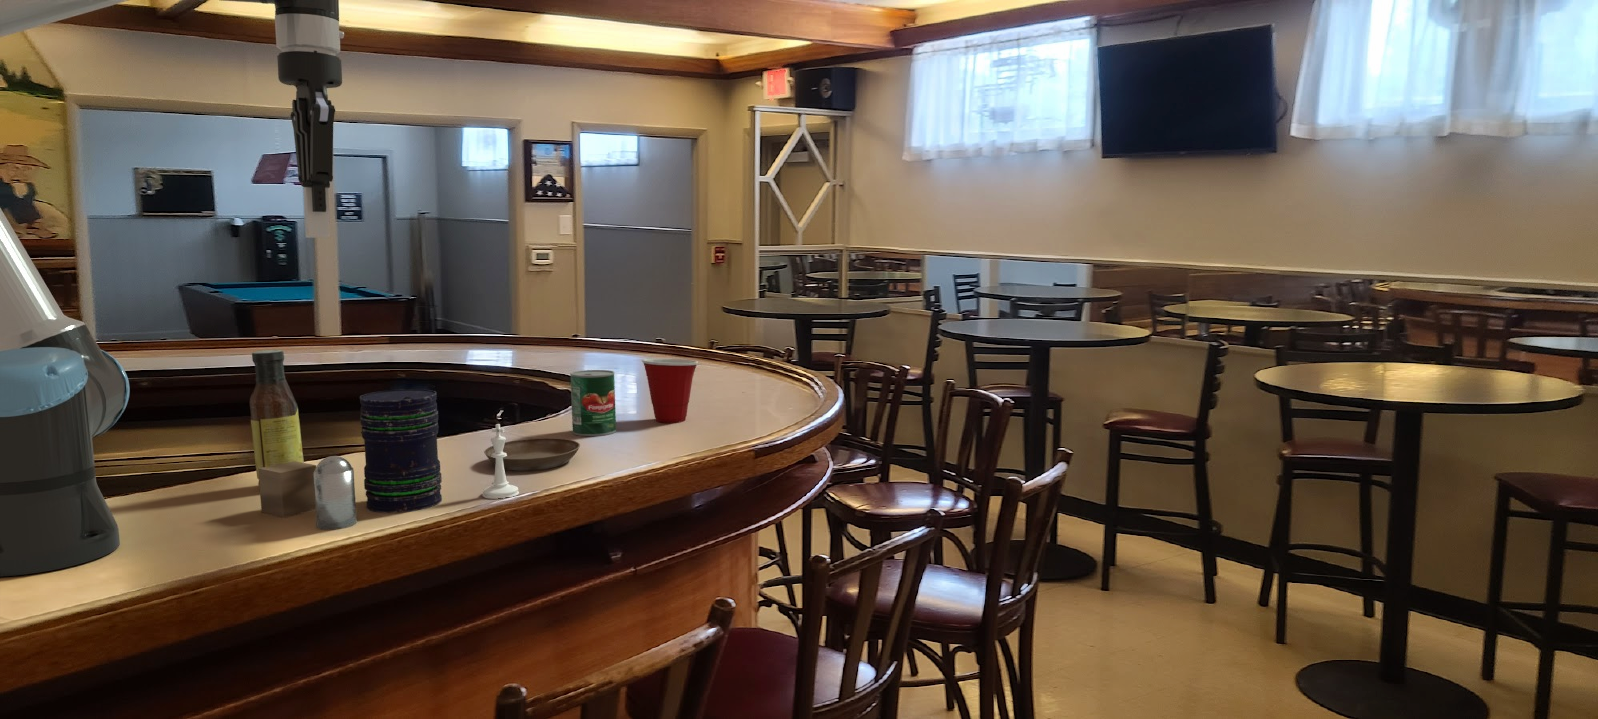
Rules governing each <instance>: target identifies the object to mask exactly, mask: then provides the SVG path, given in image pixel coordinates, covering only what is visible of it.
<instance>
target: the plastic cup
mask: <svg viewBox="0 0 1598 719" xmlns="http://www.w3.org/2000/svg"><path fill="white" fill-rule="evenodd" d="M641 362H642V363H643V366H644V370H645V373H646V374H645V375H646V379H647V384H648V389H649V394H650V400H651V405H652V409H653V414H654V418H655V421H656V422H658V423H662V424H664V423H665V424H675V423H681V422H684V421H686V420H687V419H686V418H687V416H688V407H689V403H690V397H691V391H692V384H693V378H694V375H695V371H696V367H697V365H698V364H699V361H698V360H691V359H682V358H681V359H680V358H644V359H641Z"/></svg>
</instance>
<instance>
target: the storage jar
mask: <svg viewBox="0 0 1598 719" xmlns="http://www.w3.org/2000/svg"><path fill="white" fill-rule="evenodd" d="M437 398H438V397H437V391H435V390H430V389H420V388H419V389H418V388H416V389H415V388H410V389H408V388H407V389H406V388H405V389H389V390H381V391H374V392H368V393H365V394H362V395H360V396H359V403H360V405H361V407H360V408H359V409H360V416H359V417H360V418H359V419H360V420H359V421H360V426H361V432H360V433H361V437H362V439H363V442H364V456H365V458H364V459H365V465H364V467H363V471H364V472H363V474H364V479H363V486H364V490H365V497H366V498H367V499H366V500H367V501H366V502H365V503H366V504H365V505H366V506H365V507H366V509H368V510H369V511H371V512H375V513H383V514H385V513H386V514H392V513H393V514H395V513H409V512H415V511H420V510H421V511H422V510H426V509H430V508H431V507H435V506H437V505H438V504H441V502H442V500H443V496H442V494H441V490H442V485H441V484H442V482H443V480H442V479H443V478H442V472H441V462H440V459H439V454H438V437H437V435H438V433H439V428H440V426H439V422H438V420H439V410H438V402H436V401H437Z"/></svg>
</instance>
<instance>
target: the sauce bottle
mask: <svg viewBox="0 0 1598 719" xmlns="http://www.w3.org/2000/svg"><path fill="white" fill-rule="evenodd" d="M251 359H252V362H253V364H254V371H255V372H254V373H255V378H254V379H255V386H254V389H253V392H252V393H251V395H250V397H249V410H250V426H251V435H252V445H253V452H254V454H253V455H254V462H255V470H256V472H255V473H256V478H257V479H258V480H259V472H258V468H263V467H268V466H272V465H277V464H282V463H287V462H292V461H296V462H302V463H305V461H304V454H303V441H302V434H301V424H300V418H299V407H298V403H297V401H296V399H295V397H294V394H293V392H292V390H291V388H290V385H289V383H288V381H287V379H286V376H285V365H284V361H285V354H284V351H283V350H282V349H268V350H267V349H265V350H258V351H254V352H252V353H251ZM257 484H258V487H259V488H260V485H259V481H258V483H257Z"/></svg>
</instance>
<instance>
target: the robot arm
mask: <svg viewBox="0 0 1598 719" xmlns="http://www.w3.org/2000/svg"><path fill="white" fill-rule="evenodd" d="M128 1H130V0H0V38H2V37H6V36H10V35H14V34H17V33H21V32H24V31H28V30H31V29H35V28H38V27H41V26H45V25H48V24H52V23H56V22H59V21H61V20H62V21H63V20H66V19H70V18H72V17H75V16H80V15H83V14H87V13H90V12H94V11H97V10H101V9H104V8H108V7H111V6H114V5H117V4H121V3H125V2H128ZM201 1H203V2H204V1H205V0H200V2H201ZM220 1H223V2H224V1H225V2H236V3H237V2H239V3H256V4H267V5H269V4H271V5H274V8H275V10H274V13H275V14H274V26H275V27H274V28H275V42H276V43H275V44H276V45H275V48H277V49H278V50H279V51H281V52H279V53H278V55H277V76H278V81H279V82H280V83H281V84H284V85H287V86H294V87H295V88H296V92H295V93H296V94H295V99H292V101H291V102H292V103H291V105H292V111H291V112H290V113H291V114H290V117H289V118H290V119H291V123H292V128H293V137H294V146H295V156H296V164H297V165H296V166H297V175H298V176H297V180H298V182H299V183H300V186H301V187H302V188H303V209H304V228H305V231H304V232H305V239H306V238H308V239H310V238H311V239H313V238H314V239H315V238H317V239H320V238H321V239H323V238H325V239H326V238H328V239H329V238H330V239H331V220H330V200H329V199H330V198H329V188H331V182H333V181H334V180H333V179H334V175H333V173H334V171H333V169H334V163H333V162H334V161H333V159H334V122H335V115H336V107H335V105H334V104H333V105H332V100H331V99H329V95H328V90H327V89H333V88H334V89H335V88H339V87H341V86H342V84H343V72H342V70H343V69H342V68H343V67H342V59H340V57H339V56H336V55H338V54H339V53H341V39H343V38H344V37H345V33H344V31H341V30H340V2H339V1H340V0H220ZM130 390H131V389H130V381H129V378H128V375H127V373H126V371H125V369H124V366H122V364H121V363H120V362H119V361H118V360H117V359H116V358H115V357H114V356H112V355H111V354H110V353H108V352H107V351H105V350H102V349H101V348H100V346H99V345H98V342H96V340H95V338H94V337H93V335H92V333H91V331H90V330H89V328H88V326H87V325H86V324H85V322H84V321H81V320H78V319H75V318H72V317H69V316H67V315H65V314H64V313H63V311H62V310H61V308H60V306H59V304H58V303H57V301H56V300H55V298H54V295H52V293H51V291H50V289H49V288H48V286H47V284H46V283H45V281H44V279H43V277H42V276H41V274H40V272H39V270H38V269H37V267H36V265H35V264H34V262H33V261H32V259H31V257H30V256H29V254H28V252H27V250H26V248H25V247H24V245H23V243H22V242H21V240H20V239H19V236H18V235H17V233H16V232H15V230H14V229H13V227H12V225H11V223H10V222H9V220H8V218H7V216H6V215H5V214H4V212H3V209H2V208H1V207H0V577H9V576H10V577H12V576H22V575H29V574H38V573H44V572H49V571H54V570H55V571H56V570H61V569H65V568H71V567H73V566H77V565H81V564H84V563H85V564H86V563H88V562H92V561H94V560H97V559H99V558H100V559H101V558H103V557H104V556H107V555H109V554H110V553H112V552H114V551H116V550H117V549H118V548H119V547H120V545H121V541H120V540H121V539H120V530H119V525H118V523H117V521H116V519H115V517H114V516H113V513H112V511H111V509H110V508H109V506H108V503H107V501H106V499H105V497H104V496H103V494H102V492H101V490H100V488H99V486H98V483H97V477H96V470H95V469H96V467H95V455H94V445H93V439H94V438H96V437H97V436H98V437H99V436H102V435H103V434H104V433H106V432H107V431H108V430H109V429H111V428H112V427H113V426H114V425H115V424H116V423H117V421H118V420H119V419H120V418H121V416H122V414H123V413H124V411H125V410H126V407H127V405H128V402H129V398H130Z"/></svg>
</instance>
